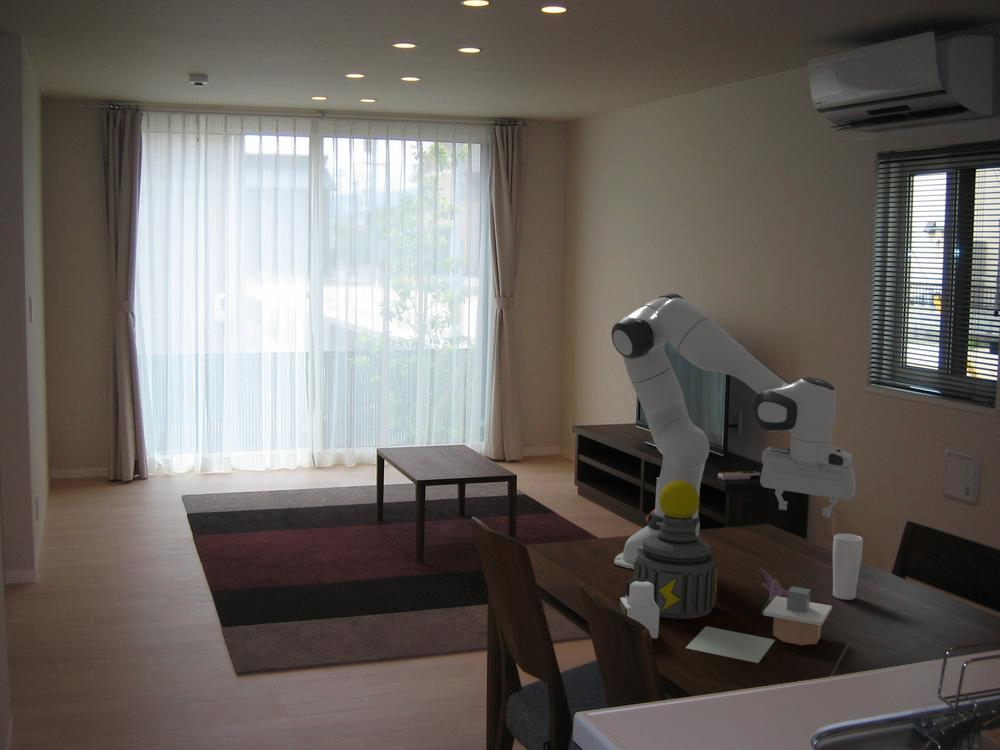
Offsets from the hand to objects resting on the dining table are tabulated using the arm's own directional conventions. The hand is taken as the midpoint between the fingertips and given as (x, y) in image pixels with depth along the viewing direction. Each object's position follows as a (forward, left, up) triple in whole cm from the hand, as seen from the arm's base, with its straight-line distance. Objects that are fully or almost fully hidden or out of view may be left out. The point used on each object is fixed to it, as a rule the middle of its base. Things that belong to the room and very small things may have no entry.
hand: (804, 513), depth 232 cm
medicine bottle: (-28, -27, -25) cm, 46 cm away
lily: (-6, +4, -25) cm, 26 cm away
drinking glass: (+6, +25, -25) cm, 36 cm away
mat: (-9, -23, -25) cm, 35 cm away
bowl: (+2, -11, -25) cm, 27 cm away
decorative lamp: (-27, -6, -25) cm, 37 cm away
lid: (+2, -11, -19) cm, 22 cm away
